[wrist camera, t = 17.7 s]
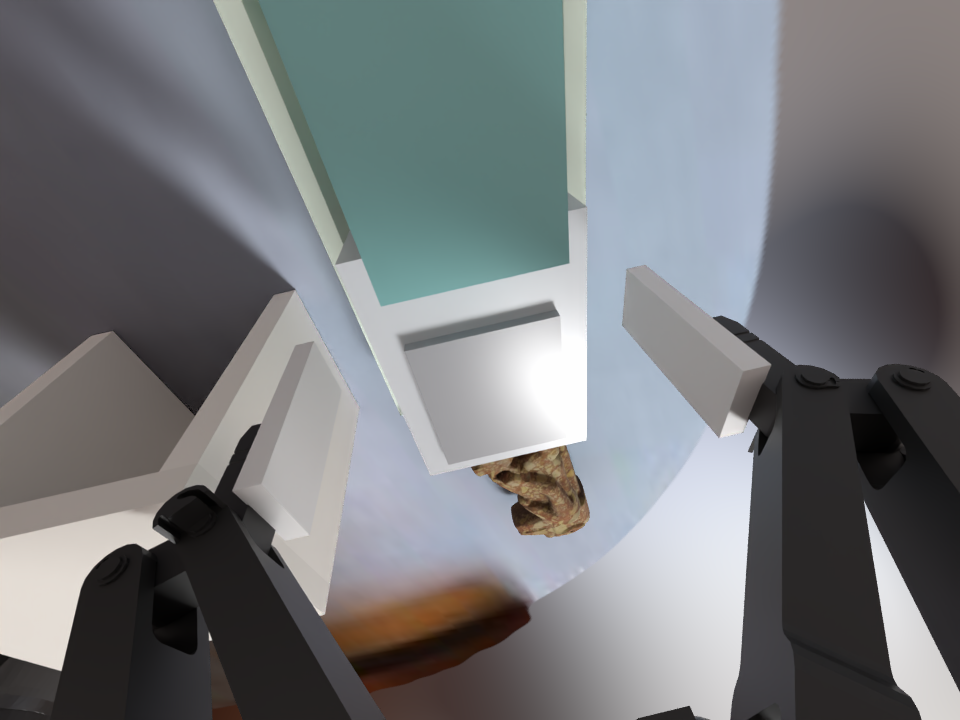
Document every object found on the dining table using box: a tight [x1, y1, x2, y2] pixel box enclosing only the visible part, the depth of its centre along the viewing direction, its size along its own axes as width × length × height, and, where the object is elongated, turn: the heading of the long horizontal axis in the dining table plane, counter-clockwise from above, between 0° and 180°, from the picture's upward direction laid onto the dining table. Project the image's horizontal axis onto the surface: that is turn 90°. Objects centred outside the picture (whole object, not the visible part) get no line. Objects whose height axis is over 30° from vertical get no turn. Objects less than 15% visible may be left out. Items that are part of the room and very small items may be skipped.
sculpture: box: [471, 445, 590, 537], centre depth 30 cm, size 8×19×5 cm, turn 20°
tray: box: [213, 0, 587, 415], centre depth 18 cm, size 12×20×3 cm, turn 10°
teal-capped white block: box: [258, 0, 587, 476], centre depth 14 cm, size 7×15×12 cm, turn 10°
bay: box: [0, 290, 360, 671], centre depth 18 cm, size 11×9×13 cm
